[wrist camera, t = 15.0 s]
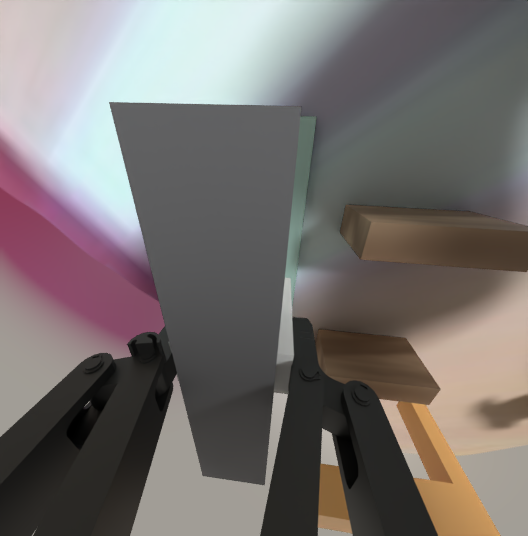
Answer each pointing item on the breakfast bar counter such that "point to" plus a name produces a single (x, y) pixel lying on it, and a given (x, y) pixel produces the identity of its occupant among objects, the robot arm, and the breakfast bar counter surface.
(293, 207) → the mat
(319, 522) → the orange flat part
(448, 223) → the cradle
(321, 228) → the breakfast bar counter surface
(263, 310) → the grey rectangular bar
